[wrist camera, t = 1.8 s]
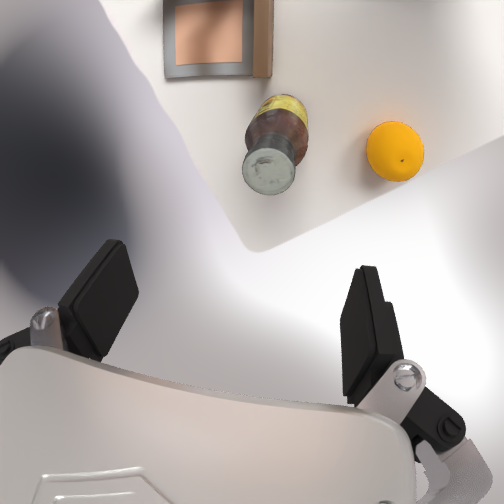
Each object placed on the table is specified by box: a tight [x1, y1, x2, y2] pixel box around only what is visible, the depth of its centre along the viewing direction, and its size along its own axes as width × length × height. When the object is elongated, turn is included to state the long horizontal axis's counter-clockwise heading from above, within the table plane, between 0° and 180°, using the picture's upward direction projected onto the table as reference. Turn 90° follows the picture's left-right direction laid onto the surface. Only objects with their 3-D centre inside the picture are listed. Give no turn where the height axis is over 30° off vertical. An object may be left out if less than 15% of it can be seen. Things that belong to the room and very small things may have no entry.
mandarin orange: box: [366, 121, 424, 182], centre depth 34 cm, size 8×8×8 cm
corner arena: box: [163, 0, 274, 78], centre depth 28 cm, size 15×15×6 cm
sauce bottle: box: [242, 94, 308, 195], centre depth 29 cm, size 7×6×20 cm
